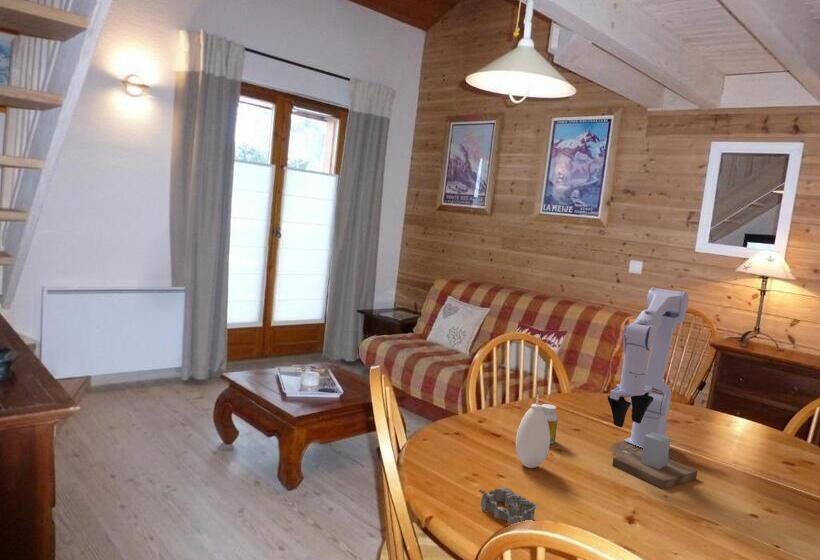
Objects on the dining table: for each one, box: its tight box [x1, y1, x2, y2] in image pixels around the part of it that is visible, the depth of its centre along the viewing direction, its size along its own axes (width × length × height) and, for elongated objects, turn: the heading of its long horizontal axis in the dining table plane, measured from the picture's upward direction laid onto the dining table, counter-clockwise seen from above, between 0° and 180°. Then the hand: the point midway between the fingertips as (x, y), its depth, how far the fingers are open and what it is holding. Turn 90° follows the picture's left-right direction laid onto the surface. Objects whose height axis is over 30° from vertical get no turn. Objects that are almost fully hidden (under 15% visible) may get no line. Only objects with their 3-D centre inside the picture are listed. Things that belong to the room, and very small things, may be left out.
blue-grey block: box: [641, 432, 671, 469], centre depth 146 cm, size 5×5×7 cm
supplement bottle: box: [540, 403, 559, 445], centre depth 161 cm, size 5×5×10 cm
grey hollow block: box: [478, 487, 539, 527], centre depth 118 cm, size 11×8×4 cm
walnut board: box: [612, 450, 698, 490], centre depth 146 cm, size 14×14×2 cm
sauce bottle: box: [515, 394, 551, 469], centre depth 142 cm, size 8×8×18 cm
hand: (627, 424), depth 148 cm, fingers open, 7 cm apart
